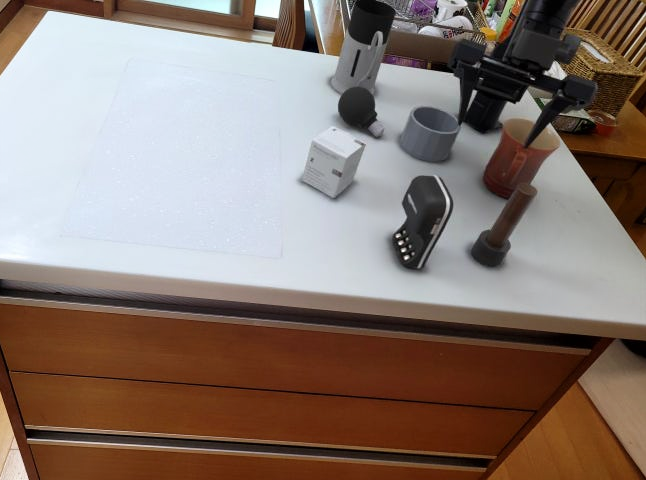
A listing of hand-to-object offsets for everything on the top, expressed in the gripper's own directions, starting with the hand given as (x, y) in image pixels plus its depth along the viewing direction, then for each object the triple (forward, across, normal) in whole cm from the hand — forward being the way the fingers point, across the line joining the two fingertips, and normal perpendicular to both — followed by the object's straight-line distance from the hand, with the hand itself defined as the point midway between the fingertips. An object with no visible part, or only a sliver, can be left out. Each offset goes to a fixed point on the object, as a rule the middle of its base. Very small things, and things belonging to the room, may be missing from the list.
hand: (491, 137), depth 75 cm
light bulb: (+2, -20, +19) cm, 28 cm away
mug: (+5, +6, +16) cm, 17 cm away
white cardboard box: (+14, -19, +4) cm, 24 cm away
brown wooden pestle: (+15, +6, +1) cm, 16 cm away
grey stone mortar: (+2, -8, +20) cm, 21 cm away
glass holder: (-4, -24, +28) cm, 37 cm away
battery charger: (+19, -5, -4) cm, 20 cm away
